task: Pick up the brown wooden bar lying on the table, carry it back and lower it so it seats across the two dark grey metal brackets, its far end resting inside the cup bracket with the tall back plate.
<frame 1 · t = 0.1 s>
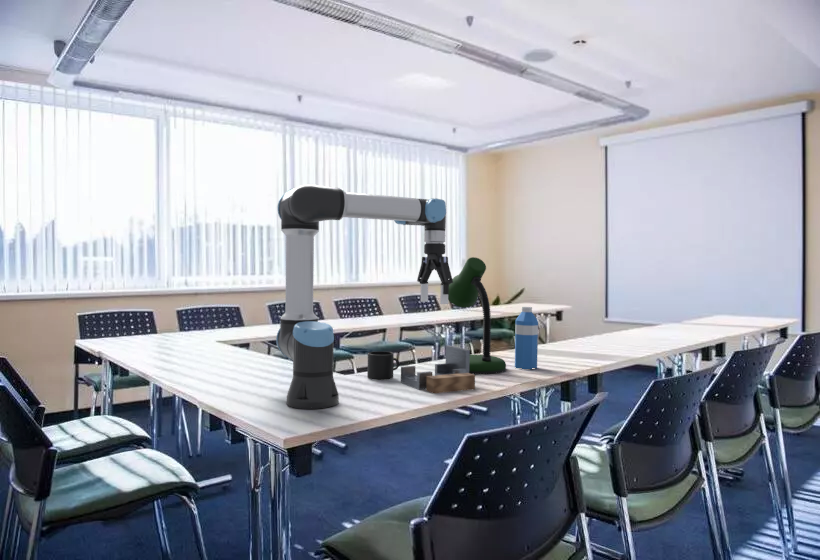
hand: (433, 302, 199), 28 cm above the table, fingers open, 13 cm apart
saddle bracket: (416, 385, 191), on the table
brown wooden bar: (450, 390, 185), on the table
water bottle: (525, 368, 229), on the table
desk lamp: (471, 367, 228), on the table
mug: (383, 378, 204), on the table
cup bracket: (451, 381, 198), on the table
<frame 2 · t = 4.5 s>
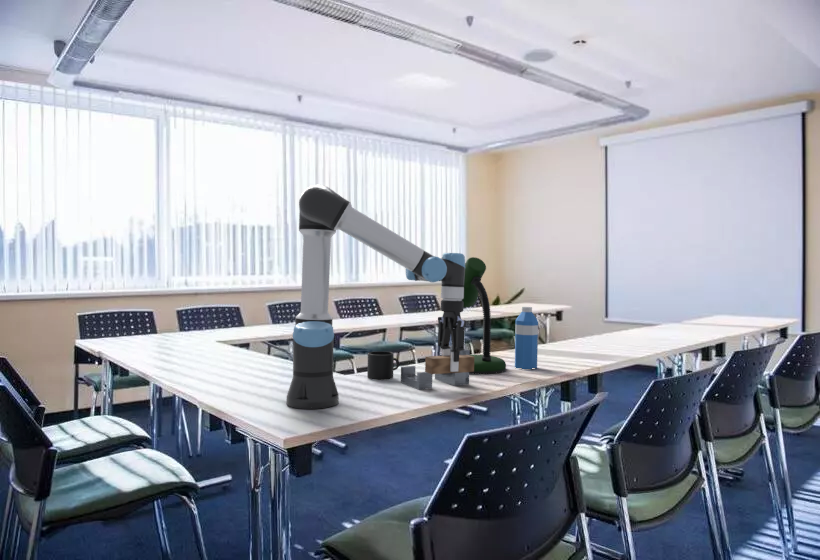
hand: (449, 369, 185), 7 cm above the table, fingers closed on brown wooden bar, 5 cm apart
brown wooden bar: (449, 371, 185), point 6 cm above the table, touching gripper
everything else where it was.
when the fingers open (4 cm above the table, at t = 8.4 s): brown wooden bar stays where it is, resting on cup bracket, saddle bracket.
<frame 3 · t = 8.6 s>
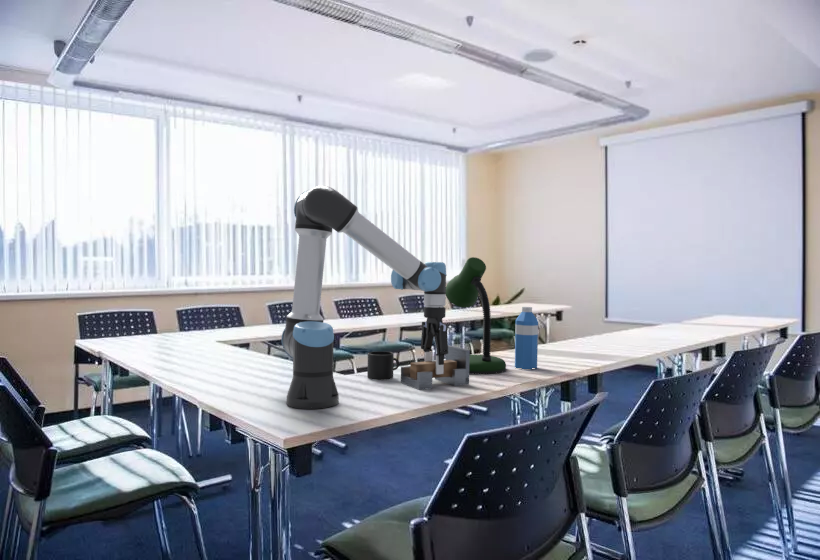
hand: (433, 372, 194), 4 cm above the table, fingers open, 7 cm apart
brown wooden bar: (433, 376, 194), point 2 cm above the table, touching cup bracket, saddle bracket
everything else where it was.
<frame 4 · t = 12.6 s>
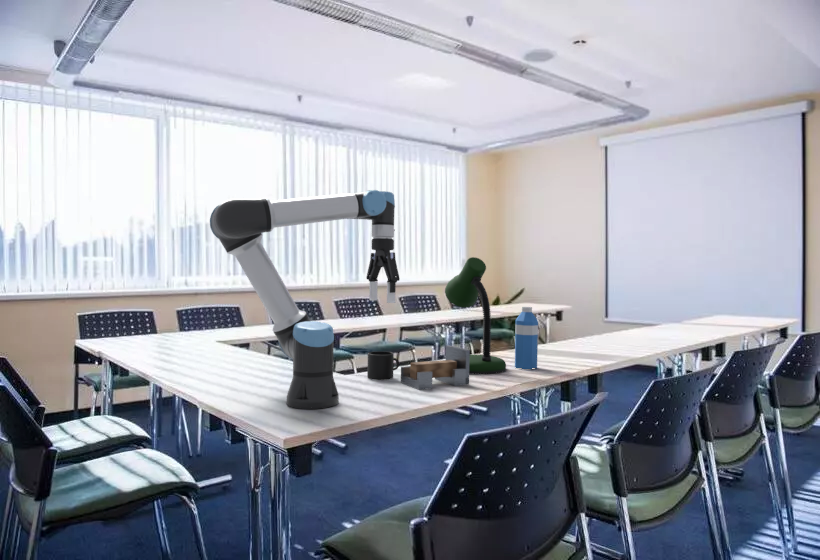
hand: (381, 301, 187), 29 cm above the table, fingers open, 13 cm apart
nothing on the table moved.
at the end: brown wooden bar 0.0 cm from the target spot, point 2.5 cm above the table; brown wooden bar tilted 0°; the gripper is holding nothing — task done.
